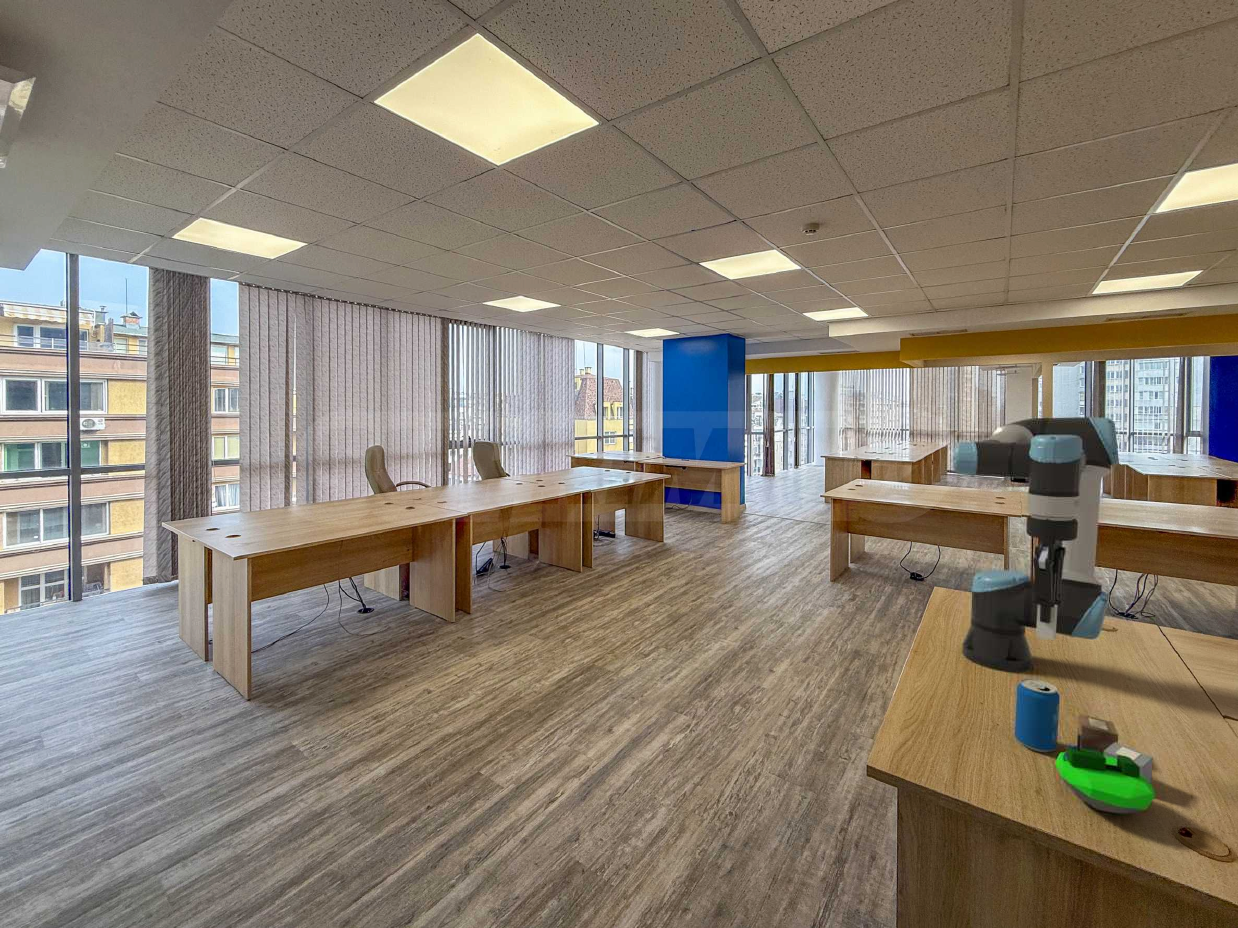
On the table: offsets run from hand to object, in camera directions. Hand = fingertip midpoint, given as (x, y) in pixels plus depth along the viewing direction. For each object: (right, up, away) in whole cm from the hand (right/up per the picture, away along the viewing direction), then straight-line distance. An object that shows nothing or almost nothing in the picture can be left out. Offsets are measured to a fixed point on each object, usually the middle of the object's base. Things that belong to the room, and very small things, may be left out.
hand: (1045, 636), depth 102 cm
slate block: (+6, -22, -10) cm, 25 cm away
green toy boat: (-3, -23, -15) cm, 27 cm away
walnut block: (+9, -21, -1) cm, 23 cm away
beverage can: (-1, -21, +1) cm, 21 cm away
